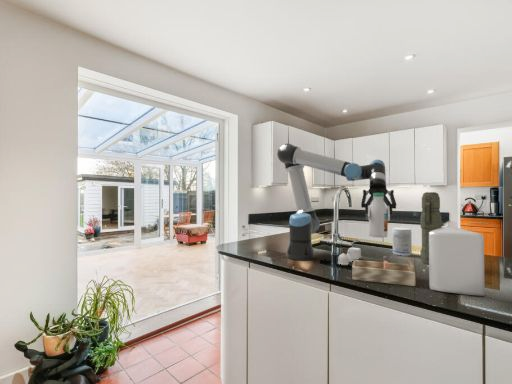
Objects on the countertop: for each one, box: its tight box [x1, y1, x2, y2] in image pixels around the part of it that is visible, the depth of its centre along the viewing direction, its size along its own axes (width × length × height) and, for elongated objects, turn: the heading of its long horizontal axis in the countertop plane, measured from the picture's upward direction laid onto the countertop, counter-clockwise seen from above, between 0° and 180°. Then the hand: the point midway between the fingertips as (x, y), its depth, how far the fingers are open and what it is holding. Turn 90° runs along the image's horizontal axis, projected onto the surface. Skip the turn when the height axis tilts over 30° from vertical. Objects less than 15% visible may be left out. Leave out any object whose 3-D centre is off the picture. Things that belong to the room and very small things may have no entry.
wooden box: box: [351, 259, 416, 287], centre depth 110 cm, size 22×13×7 cm, turn 68°
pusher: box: [383, 255, 389, 270], centre depth 109 cm, size 2×10×8 cm, turn 158°
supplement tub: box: [392, 227, 413, 257], centre depth 154 cm, size 10×10×15 cm
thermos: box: [420, 191, 443, 266], centre depth 134 cm, size 9×12×35 cm
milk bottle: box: [368, 193, 389, 239], centre depth 124 cm, size 8×8×20 cm
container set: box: [337, 246, 362, 266], centre depth 139 cm, size 20×5×6 cm, turn 139°
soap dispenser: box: [428, 226, 486, 297], centre depth 98 cm, size 15×14×22 cm
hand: (378, 218), depth 121 cm, fingers closed on milk bottle, 7 cm apart
